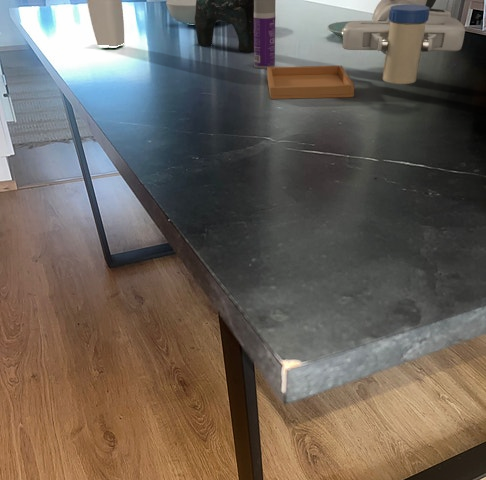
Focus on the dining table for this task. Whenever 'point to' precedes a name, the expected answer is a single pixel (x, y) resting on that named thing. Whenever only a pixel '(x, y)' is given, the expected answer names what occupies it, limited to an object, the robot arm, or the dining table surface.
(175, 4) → the serving bowl
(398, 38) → the jar
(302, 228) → the dining table surface
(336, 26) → the plate
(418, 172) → the dining table surface
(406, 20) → the lid
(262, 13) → the container
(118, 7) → the cup
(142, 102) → the dining table surface
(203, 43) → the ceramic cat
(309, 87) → the tray
